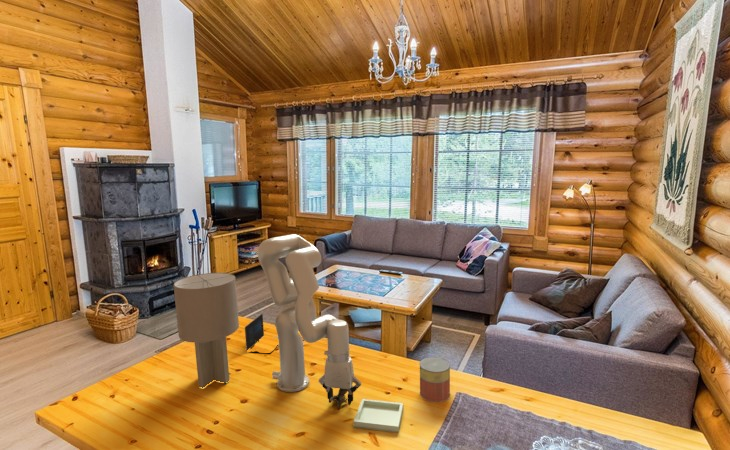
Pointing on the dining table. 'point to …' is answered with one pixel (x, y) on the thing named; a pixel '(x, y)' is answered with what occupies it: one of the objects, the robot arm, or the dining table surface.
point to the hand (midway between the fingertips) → (340, 401)
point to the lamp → (207, 321)
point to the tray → (379, 415)
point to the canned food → (434, 379)
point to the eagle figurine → (340, 397)
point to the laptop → (254, 331)
